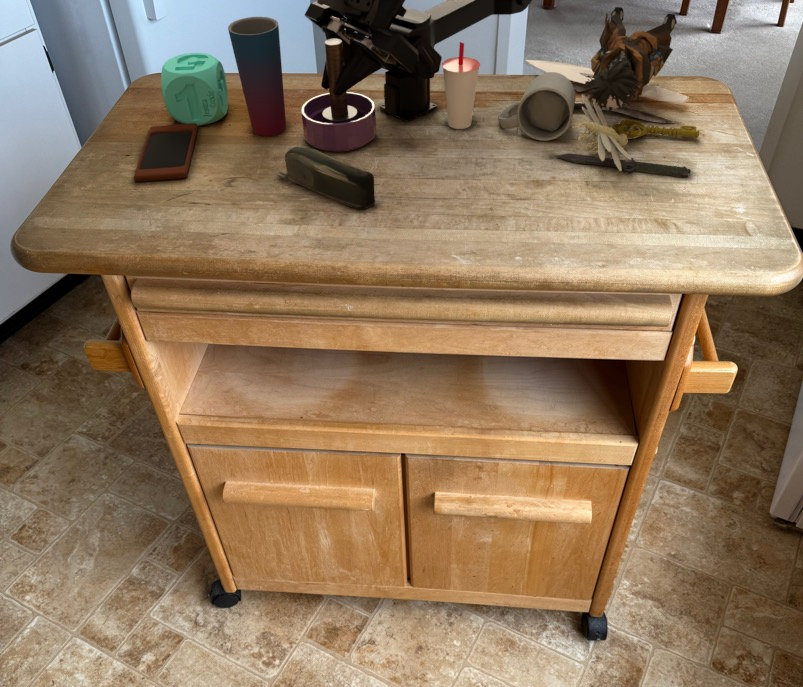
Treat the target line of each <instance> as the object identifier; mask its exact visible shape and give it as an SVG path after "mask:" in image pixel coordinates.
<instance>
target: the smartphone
mask: <svg viewBox="0 0 803 687" xmlns="http://www.w3.org/2000/svg"><path fill="white" fill-rule="evenodd" d="M198 128H199V125H198V126H197V124H195V123H191V124H182V123H180V124H179V123H178V124H168V125H165V124H164V125H154V126H151V127H149V130H148V132H147V135H146V137H145V141H144V143H143V147H142V149H141V153H140V156H139V159H138V162H137V165H136V168H135V171H134V175H133V180H134V181H135V182H150V181H163V180H175V179H185V178H186V177H187V176H188V173H189V168H190V164H191V160H192V155H193V151H194V147H195V142H196V138H197V133H198Z"/></svg>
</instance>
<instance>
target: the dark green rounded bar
mask: <svg viewBox="0 0 803 687" xmlns="http://www.w3.org/2000/svg"><path fill="white" fill-rule="evenodd" d="M284 158H285V159H284V161H285V167H286V173H285V172H281V171H280V172H278V173H277V177H279V178H281V179H284V180H287V181H290V182H292V183H295V184H298V185H300V186H302V187H305V188H307V189H309V190H311V191H314V192H316V193H319V194H321V195H323V196H325V197H328V198H330V199H332V200H334V201H336V202H338V203H341V204H343V205H346V206H348V207H350V208H353V209H359V210H360V209H367V208H370V207H371V206H373V205H374V204H375V203H376V202H375V201H376V196H375V195H376V194H375V177H374V174H373V173H371V172H369V171H367V170H363V169H361V168H358V167H356V166H353V165H351V164H349V163H347V162H343V161H341V160H340V159H339V160H338V159H336V158H334V157H331V156H329V155H327V154H326V153H323V152H321V151H320V150H317V149H315V148H311V147H303V146H302V147H301V146H294V147H292V148H290V149H289V150H287V151H286V153H285V155H284Z"/></svg>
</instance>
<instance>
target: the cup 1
mask: <svg viewBox="0 0 803 687" xmlns="http://www.w3.org/2000/svg"><path fill="white" fill-rule="evenodd" d="M227 31H228V34H229V39H230V43H231V46H232V50H233V55H234V59H235V64H236V68H237V71H238V75H239V80H240V84H241V88H242V92H243V96H244V101H245V105H246V110H247V113H248V117H249V121H250V125H251V130H252V133H254V134H256V135H257V136H262V137H271V136H276V135H279V134H281V133H283V132H284V131H285V130H286V129H287V119H286V118H287V117H286V105H285V93H284V92H285V91H284V79H283V68H282V67H283V66H282V65H283V64H282V55H281V53H282V52H281V41H280V40H281V39H280V29H279V22H278V21H277V19H274V18H272V17H268V16H248V17H243V18H240V19H236V20H234V21H233V22H231V23H229V25H228V26H227Z"/></svg>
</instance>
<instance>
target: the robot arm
mask: <svg viewBox="0 0 803 687" xmlns="http://www.w3.org/2000/svg"><path fill="white" fill-rule="evenodd" d="M532 1H533V0H445V1H443V2H440V3H439V4H437V5H435V6H433V7H431V8H429V9H426V10H425V11H421V10H418V9H414V8H411V7H410V8H409V7H407V6H403V5H404V4H405V2H406V0H316V1H312V2H310V3H309V6H308V8H307V9H306V11H305V13H304V17H305V18H306V19H307V20H309V21H310V22H311V23H313V24H314V25H315V26H316V27H317V28H319V30H321V31H322V33H323V34H324V35H325V38H326V40H328V39H333V38H336V39H341V40H342V42H343V54H344V68H343V70H342V72H341V74H340V76H339V78H338V80H337V82H336V84H335V87H334V90H333V93H334V94H336V95H337V96H340V95H341V94H343V93H344V92H346V91H347V92H348V91H349V90H350V89H352V87H354V86H356V85H357V84H358V83H360V82H362V81H363V80H364V79H366V78H367V77H369V76H371V75H372V74H374V73H377V72H378V71H380V70H381V69H382V70H386V71H384V80H385V83H384V84H383V98H384V103H382V104H380V105H379V109H380V110H381V111H384V112H386V113H387V114H389V115H392V116H394V117H396V118H398V119H400V120H403V121H405V122H411V121H412V120H414V119H418V118H419V117H421V116H424V115H426V114H428V113H431V112H432V111H435V110H437V109H438V104H437V103H434V102H431V79H433V78H435V74H437V73H439V72H440V69H441V65H442V63H441V62H442V59H443V58H442V55H441V54H440V53H439V52H438V51H437V50H436V49H435V46H436V45H437V44H439V43H441V42H443V41H446V40H447V39H449V38H450V37H452V36H454V35H456V34H458V33H460V32H462V31H464V30H467V29H468V28H470V27H471V26H474V25H475V24H477V23H479V22H481V21H483V20H485V19H487V18H488V17H491V16H501V15H502V16H503V15H505V16H506V15H509V16H510V15H516V14H518V13H522V12H524V11H525V10H526V9H527V8H528V7H529V5H530V4H531V3H532ZM320 86H321V88H323V89H324V90H325V91H329V84H328V74H327V64H326V61H325V62H324V67H323V73H322V79H321V84H320Z"/></svg>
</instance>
